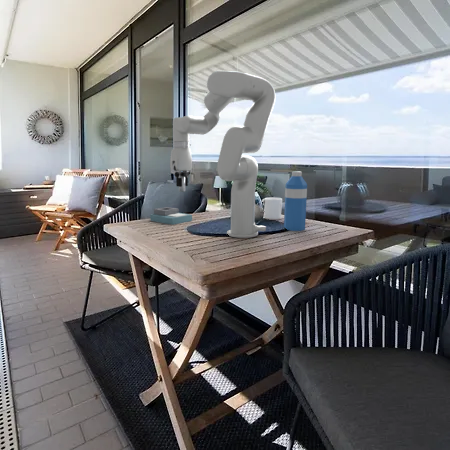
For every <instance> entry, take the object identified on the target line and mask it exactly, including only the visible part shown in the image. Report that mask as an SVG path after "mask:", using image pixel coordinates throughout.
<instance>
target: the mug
mask: <svg viewBox="0 0 450 450" xmlns="http://www.w3.org/2000/svg"><path fill="white" fill-rule="evenodd" d="M262 202H263V203H264V211H265V213H264V219H265V220H268V219H269V220H270V221H278V220H281V219H282V208H283V198H281V197H265V198H263V199H261V203H262ZM264 211H263V212H264Z"/></svg>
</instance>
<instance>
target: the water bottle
mask: <svg viewBox="0 0 450 450" xmlns="http://www.w3.org/2000/svg"><path fill="white" fill-rule="evenodd" d="M302 175H303V172H302V171H298V170H297V171H296V170H295V171H294V170H293V171H291V176H290V178H288V180H287V181H286V183H285V184H284V185H285V188H284V190H285V191H284V192H285V193H284V210H283V211H284V214H283V215H284V217H283V228H284V227H285V228H286V229H287V230H286V231H291V232H301V231H305V230H306V220H307V219H306V216H307V201H308V200H307V198H308V197H307V196H308V184H307V181H305V179H304V178H303V176H302Z"/></svg>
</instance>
